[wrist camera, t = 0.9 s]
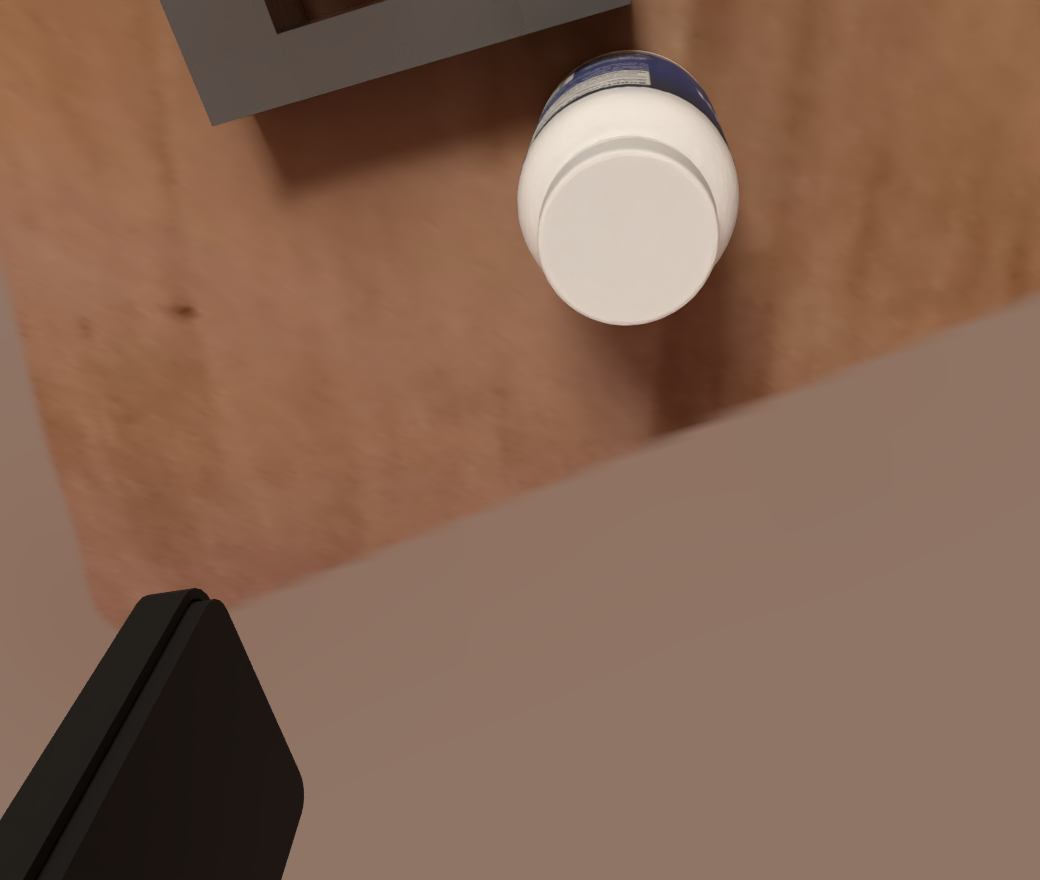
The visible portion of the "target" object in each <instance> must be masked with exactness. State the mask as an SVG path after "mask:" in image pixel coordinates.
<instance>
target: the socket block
mask: <svg viewBox="0 0 1040 880" xmlns="http://www.w3.org/2000/svg"><path fill="white" fill-rule="evenodd" d="M160 2H161V4H162V7H163V9H164V11H165V14H166V16H167V19H168V21H169V23H170V26H171V28H172V31H173V33H174V35H175V38H176V40H177V43H178V45H179V47H180V50H181V52H182V55H183V57H184V59H185V62H186V64H187V66H188V69H189V71H190V74H191V76H192V78H193V81H194V83H195V86H196V88H197V90H198V93H199V95H200V98H201V100H202V102H203V105H204V107H205V110H206V112H207V114H208V117H209V119H210V122H211V124H212V126H215V125H219V124H222V123H225V122H229V121H232V120H236V119H239V118H243V117H246V116H249V115H253V114H256V113H260V112H263V111H266V110H270V109H273V108H277V107H280V106H284V105H287V104H290V103H294V102H297V101H301V100H304V99H307V98H311V97H314V96H318V95H321V94H325V93H328V92H331V91H335V90H338V89H342V88H345V87H348V86H352V85H355V84H359V83H362V82H365V81H369V80H372V79H376V78H379V77H383V76H386V75H389V74H393V73H396V72H400V71H403V70H406V69H410V68H413V67H417V66H420V65H424V64H427V63H430V62H434V61H437V60H441V59H444V58H447V57H451V56H454V55H458V54H461V53H465V52H468V51H471V50H475V49H478V48H482V47H485V46H488V45H492V44H495V43H499V42H502V41H506V40H509V39H512V38H516V37H519V36H523V35H526V34H529V33H533V32H536V31H540V30H543V29H546V28H550V27H553V26H557V25H560V24H564V23H567V22H570V21H574V20H577V19H581V18H584V17H587V16H591V15H594V14H598V13H601V12H605V11H608V10H611V9H615V8H618V7H622V6H625V5H628V4H631V0H373V1H369V2H366V3H363V4H360V5H357V6H353V7H350V8H347V9H344V10H340V11H337V12H334V13H331V14H328V15H324V16H321V17H318V18H315V19H312V20H308V18H307V15H306V13H305V10H304V7H303V4H302V1H301V0H160Z"/></svg>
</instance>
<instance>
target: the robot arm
mask: <svg viewBox="0 0 1040 880" xmlns="http://www.w3.org/2000/svg"><path fill="white" fill-rule="evenodd" d="M303 802H304V788H303V782H302V778H301V775H300V772H299V770H298V768H297V765H296V763H295V761H294V759H293V756H292V754H291V752H290V750H289V747H288V745H287V743H286V741H285V738H284V737H283V734H282V732H281V729H280V727H279V725H278V723H277V721H276V718H275V716H274V714H273V712H272V709H271V707H270V705H269V703H268V700H267V698H266V696H265V694H264V692H263V689H262V687H261V685H260V683H259V680H258V678H257V676H256V674H255V672H254V670H253V667H252V665H251V662H250V660H249V658H248V656H247V653H246V651H245V649H244V647H243V644H242V642H241V640H240V638H239V635H238V633H237V631H236V629H235V627H234V624H233V622H232V620H231V618H230V615H229V613H228V611H227V609H226V607H225V606H224V604H223V603H222V602H221V601H220V600H217V599H212V600H210V599H209V597H208V595H207V594H206V593H205V592H203V591H202V590H201V589H197V588H193V589H186V590H179V591H172V592H165V593H158V594H151V595H147V596H145V597H142V598H141V599H140V601H139V602H138V603H137V604H136V606H135V607H134V609H133V610H132V612H131V614H130V615H129V617H128V618H127V620H126V621H125V623H124V625H123V626H122V628H121V629H120V631H119V633H118V634H117V636H116V637H115V639H114V641H113V642H112V644H111V645H110V647H109V648H108V650H107V652H106V653H105V655H104V657H103V658H102V660H101V661H100V663H99V664H98V666H97V668H96V669H95V671H94V672H93V674H92V675H91V677H90V679H89V681H88V682H87V683H86V685H85V687H84V688H83V690H82V691H81V693H80V694H79V696H78V698H77V699H76V701H75V702H74V704H73V706H72V707H71V709H70V710H69V712H68V714H67V715H66V717H65V718H64V720H63V721H62V723H61V725H60V726H59V728H58V729H57V731H56V733H55V734H54V736H53V737H52V739H51V741H50V742H49V744H48V745H47V747H46V748H45V750H44V752H43V753H42V755H41V756H40V758H39V760H38V761H37V763H36V764H35V766H34V767H33V769H32V771H31V773H30V774H29V776H28V777H27V779H26V780H25V782H24V783H23V785H22V786H21V788H20V790H19V791H18V793H17V794H16V796H15V798H14V799H13V801H12V802H11V804H10V806H9V807H8V809H7V810H6V812H5V813H4V815H3V817H2V818H1V820H0V880H281V878H282V875H283V872H284V869H285V866H286V862H287V859H288V856H289V853H290V849H291V846H292V843H293V840H294V836H295V833H296V830H297V827H298V823H299V820H300V817H301V814H302V809H303Z"/></svg>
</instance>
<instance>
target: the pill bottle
mask: <svg viewBox="0 0 1040 880" xmlns="http://www.w3.org/2000/svg"><path fill="white" fill-rule="evenodd" d="M738 205H739V186H738V179H737V173H736V168H735V164H734V160H733V157H732V155H731V152H730V150H729V147H728V145H727V142H726V139H725V137H724V134H723V132H722V129H721V126H720V124H719V122H718V119H717V117H716V114H715V112H714V109H713V107H712V105H711V102H710V101H709V98H708V97H707V95H706V93H705V92H704V90H703V89H702V87H701V86H700V85H699V83H698V82H697V81H696V80H695V78H694V77H693V76H692V75H691V74H690V73H689V72H687V71H686V70H685V69H684V68H683V67H681V66H680V65H678V64H677V63H675V62H674V61H672V60H670V59H668V58H666V57H664V56H661V55H658V54H655V53H652V52H647V51H641V50H621V51H614V52H609V53H606V54H603V55H600V56H597V57H595V58H592V59H590V60H588V61H586V62H585V63H583V64H581V65H580V66H578V67H577V68H576V69H574V70H573V71H572V72H570V73H569V74H568V75H567V76H566V77H565V78H564V79H563V80H562V81H561V83H560V84H559V85H558V86H557V88H556V89H555V90H554V92H553V93H552V95H551V96H550V98H549V99H548V101H547V103H546V105H545V107H544V109H543V112H542V114H541V116H540V119H539V122H538V125H537V127H536V130H535V133H534V135H533V138H532V141H531V144H530V147H529V149H528V152H527V155H526V157H525V160H524V162H523V166H522V170H521V175H520V180H519V187H518V216H519V221H520V226H521V230H522V233H523V236H524V240H525V242H526V244H527V246H528V249H529V251H530V252H531V254H532V256H533V258H534V259H535V261H536V262H537V263H538V265H539V266H540V268H541V269H542V270H543V272H544V274H545V276H546V278H547V280H548V282H549V283H550V285H551V286H552V288H553V289H554V291H555V292H556V293H557V295H558V296H559V297H560V298H561V299H562V300H563V301H564V302H565V303H566V304H568V305H569V306H570V307H572V308H573V309H574V310H576V311H577V312H579V313H580V314H582V315H584V316H586V317H588V318H590V319H593V320H596V321H599V322H602V323H606V324H611V325H624V326H630V325H639V324H646V323H650V322H653V321H656V320H659V319H662V318H664V317H666V316H668V315H670V314H672V313H674V312H676V311H677V310H679V309H680V308H682V307H683V306H684V305H686V304H687V303H688V302H689V301H690V300H691V299H692V298H693V297H694V296H695V295H696V294H697V293H698V292H699V290H700V289H701V288H702V287H703V285H704V284H705V282H706V280H707V279H708V277H709V275H710V273H711V271H712V269H713V267H714V266H715V264H716V263H717V262H718V260H719V259H720V257H721V256H722V254H723V252H724V251H725V249H726V247H727V245H728V243H729V240H730V238H731V236H732V233H733V230H734V227H735V224H736V219H737V214H738Z"/></svg>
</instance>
